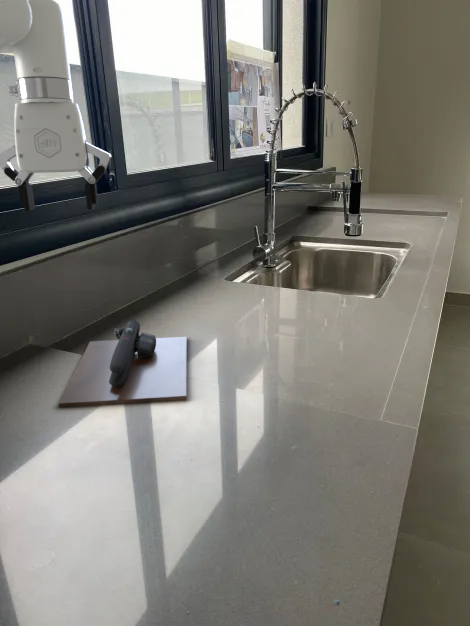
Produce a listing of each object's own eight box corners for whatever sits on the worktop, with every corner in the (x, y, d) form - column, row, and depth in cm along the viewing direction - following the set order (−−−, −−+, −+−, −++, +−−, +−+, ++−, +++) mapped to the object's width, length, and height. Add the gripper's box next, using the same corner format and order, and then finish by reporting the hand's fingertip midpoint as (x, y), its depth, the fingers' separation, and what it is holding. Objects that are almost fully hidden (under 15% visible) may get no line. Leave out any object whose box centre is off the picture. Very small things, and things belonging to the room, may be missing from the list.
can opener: (122, 345, 90) (119, 315, 89) (160, 345, 90) (157, 315, 88) (91, 390, 74) (86, 355, 72) (137, 390, 73) (134, 355, 71)
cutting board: (59, 413, 70) (58, 403, 70) (90, 348, 93) (89, 341, 92) (187, 405, 72) (186, 396, 71) (187, 343, 94) (186, 336, 94)
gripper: (-24, 91, 70) (-3, 214, 76) (100, 90, 72) (112, 210, 77) (-4, 97, 77) (13, 208, 83) (108, 96, 79) (118, 205, 84)
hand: (60, 209), depth 80 cm, fingers open, 9 cm apart
